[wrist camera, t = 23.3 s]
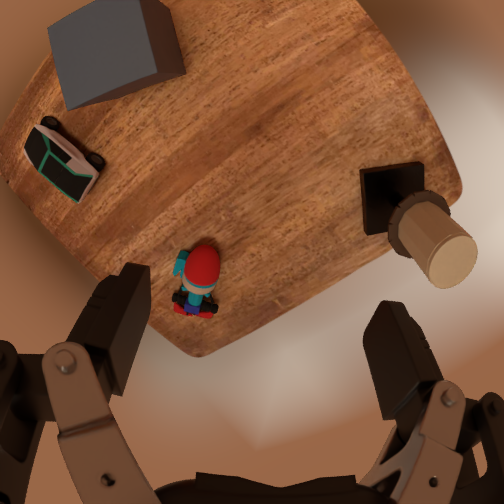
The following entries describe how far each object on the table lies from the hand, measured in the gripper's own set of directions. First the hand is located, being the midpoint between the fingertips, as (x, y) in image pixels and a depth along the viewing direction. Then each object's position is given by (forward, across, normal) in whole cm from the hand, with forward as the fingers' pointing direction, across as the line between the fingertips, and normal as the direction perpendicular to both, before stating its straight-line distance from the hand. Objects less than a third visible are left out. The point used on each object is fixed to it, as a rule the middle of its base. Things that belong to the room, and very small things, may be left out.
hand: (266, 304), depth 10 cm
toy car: (+28, +25, +5) cm, 38 cm away
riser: (+29, +16, -8) cm, 34 cm away
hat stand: (+29, -19, +4) cm, 35 cm away
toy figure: (+29, +5, +22) cm, 36 cm away
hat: (+21, -19, +4) cm, 29 cm away
